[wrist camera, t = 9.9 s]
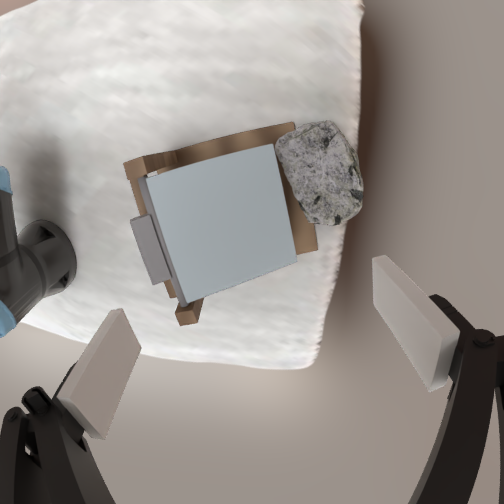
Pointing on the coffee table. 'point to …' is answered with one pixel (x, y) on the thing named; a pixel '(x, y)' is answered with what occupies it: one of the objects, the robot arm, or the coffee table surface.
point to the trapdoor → (215, 223)
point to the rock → (322, 172)
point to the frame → (208, 150)
